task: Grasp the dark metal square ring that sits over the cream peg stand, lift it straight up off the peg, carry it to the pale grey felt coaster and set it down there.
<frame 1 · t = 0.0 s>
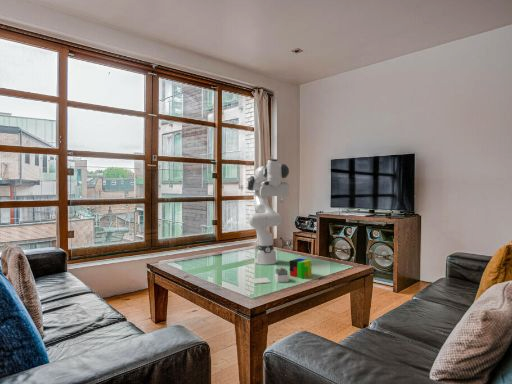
hand: (274, 202, 228), 48 cm above the table, fingers open, 8 cm apart
peg stand: (281, 280, 209), on the table
puzzle toy: (300, 276, 219), on the table
coaster: (260, 281, 208), on the table
ring: (281, 274, 209), point 4 cm above the table, touching peg stand
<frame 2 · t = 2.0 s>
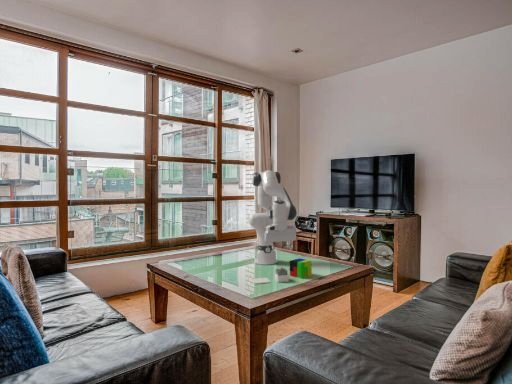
hand: (280, 248, 209), 20 cm above the table, fingers open, 8 cm apart
nothing on the table moved.
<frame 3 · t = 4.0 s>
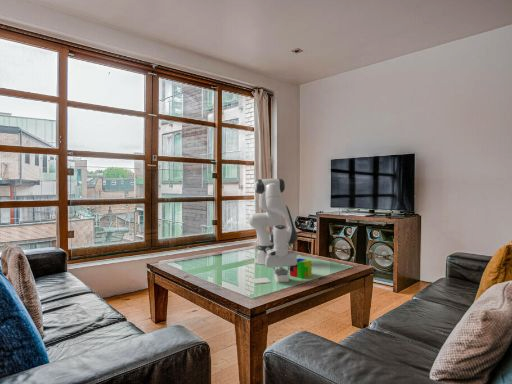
hand: (281, 273, 209), 4 cm above the table, fingers closed on ring, 6 cm apart
ring: (281, 274, 209), point 4 cm above the table, touching gripper, peg stand
everything else where it was.
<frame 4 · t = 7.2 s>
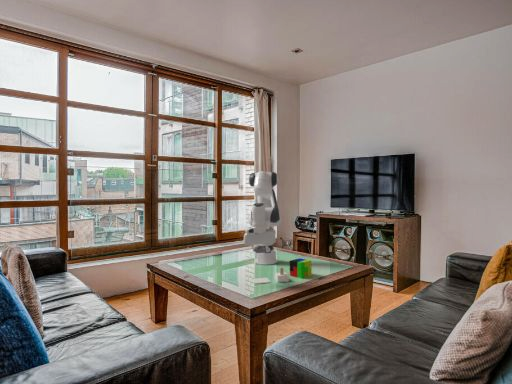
hand: (259, 251, 208), 19 cm above the table, fingers closed on ring, 6 cm apart
ring: (260, 251, 208), point 18 cm above the table, touching gripper
everything else where it was.
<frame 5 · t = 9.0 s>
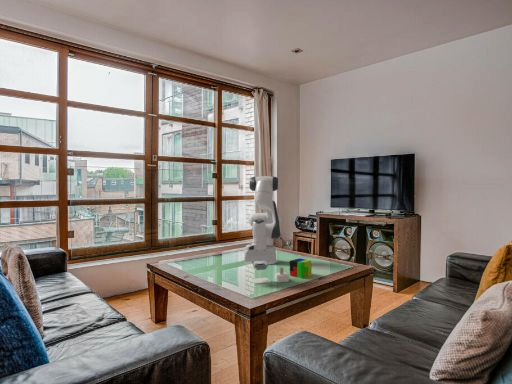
hand: (260, 267, 208), 8 cm above the table, fingers closed on ring, 6 cm apart
ring: (260, 268, 208), point 8 cm above the table, touching gripper
everything else where it was.
when the fingers open (2 cm above the table, at t = 10.7 s): ring drops 1 cm, resting on coaster.
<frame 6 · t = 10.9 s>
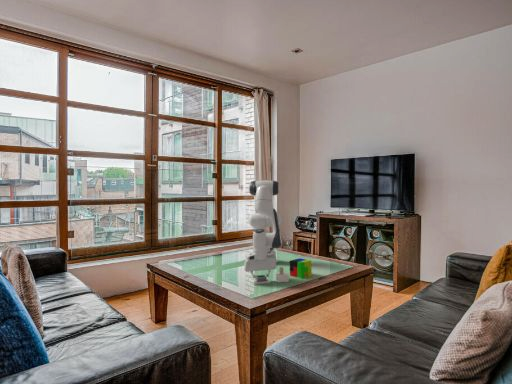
hand: (260, 277, 208), 2 cm above the table, fingers open, 8 cm apart
ring: (260, 280, 208), point 1 cm above the table, touching coaster
everything else where it was.
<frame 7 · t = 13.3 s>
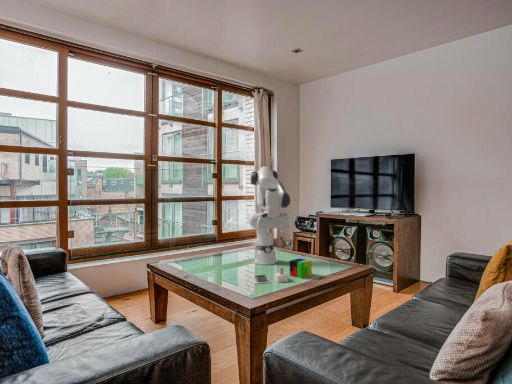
hand: (273, 235, 211), 28 cm above the table, fingers open, 8 cm apart
nothing on the table moved.
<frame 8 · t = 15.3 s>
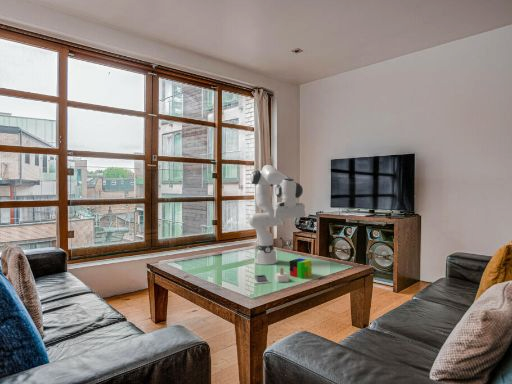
hand: (289, 224, 215), 34 cm above the table, fingers open, 8 cm apart
nothing on the table moved.
at the end: ring inside the target area on the coaster (0.0 cm from its centre), point 0.6 cm above the coaster's base; ring touching coaster; the gripper is holding nothing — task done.
